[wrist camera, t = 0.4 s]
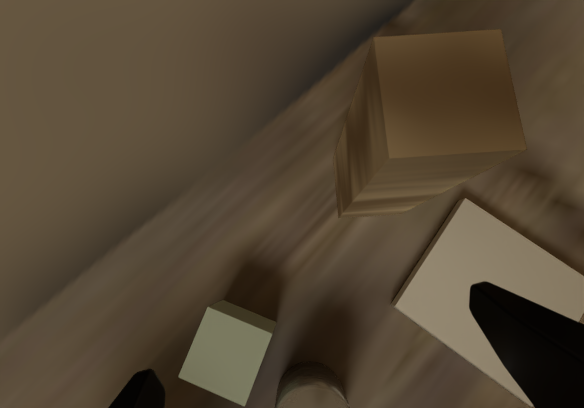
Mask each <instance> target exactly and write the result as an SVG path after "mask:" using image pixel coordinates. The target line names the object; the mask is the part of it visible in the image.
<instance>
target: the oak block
mask: <svg viewBox="0 0 584 408" xmlns="http://www.w3.org/2000/svg"><path fill="white" fill-rule="evenodd" d="M525 150H527V147H526V143H525V138H524V133H523V129H522V124H521V119H520V115H519V110H518V106H517V101H516V96H515V92H514V87H513V83H512V78H511V73H510V69H509V64H508V59H507V55H506V50H505V46H504V41H503V36H502V32H501V29H493V30H478V31H463V32H447V33H432V34H417V35H402V36H387V37H374V38H373V41H372V44H371V47H370V50H369V53H368V56H367V59H366V62H365V65H364V68H363V71H362V74H361V77H360V80H359V83H358V86H357V89H356V92H355V95H354V98H353V101H352V104H351V107H350V110H349V113H348V116H347V119H346V122H345V125H344V128H343V131H342V134H341V137H340V139H339V142H338V145H337V148H336V151H335V154H334V157H333V165H334V175H335V186H336V197H337V208H338V218H349V217H364V216H380V215H395V214H402V213H404V212H406V211H408V210H410V209H412V208H414V207H416V206H418V205H419V204H421V203H423V202H425V201H427V200H429V199H431V198H433V197H435V196H437V195H439V194H441V193H443V192H445V191H447V190H449V189H451V188H453V187H455V186H457V185H459V184H461V183H462V182H464V181H466V180H468V179H470V178H472V177H474V176H476V175H478V174H480V173H482V172H484V171H486V170H488V169H490V168H492V167H494V166H496V165H498V164H500V163H502V162H504V161H506V160H507V159H509V158H511V157H513V156H515V155H517V154H519V153H521V152H523V151H525Z"/></svg>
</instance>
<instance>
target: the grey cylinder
mask: <svg viewBox="0 0 584 408" xmlns="http://www.w3.org/2000/svg"><path fill="white" fill-rule="evenodd" d="M275 408H350V406H349V404H348V401H347V398H346V396H345V393H344V391H343V388H342V385H341V383H340V381H339V379H338V377H337V376H336V375H335V373H334V372H333V371H332V370H331V369H329V368H328V367H327V366H325V365H323V364H320V363H317V362H302V363H299V364H297V365H295V366H293V367H292V368H290V369H289V370H288V371H287V372H286V373H285V374H284V376H283V377H282V379H281V381H280V383H279V386H278V389H277V395H276V402H275Z"/></svg>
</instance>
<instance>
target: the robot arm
mask: <svg viewBox="0 0 584 408" xmlns="http://www.w3.org/2000/svg"><path fill="white" fill-rule="evenodd" d="M469 309H470V312H471V314H472V316H473V317H474V319H475V320H476V322H477V324H478V325H479V327H480V329H481V330H482V332H483V333H484V335H485V337H486V338H487V340H488V341H489V343H490V345H491V346H492V348H493V350H494V351H495V353H496V354H497V356H498V358H499V359H500V361H501V362H502V364H503V365H504V367H505V368H506V369H507V371H508V372H509V374H510V375H511V376H512V378H513V379H514V380H515V382H516V383H517V384H518V386H519V387H520V388H521V389H522V391H523V392H524V393H525V395H526V396H527V397H528V399H529V400H530V401H531V403H532V404H533V405H534V407H535V408H584V324H582V323H580V322H577V321H575V320H573V319H571V318H568V317H566V316H564V315H562V314H559V313H557V312H555V311H553V310H551V309H548V308H546V307H544V306H542V305H539V304H537V303H535V302H533V301H530V300H528V299H526V298H524V297H521V296H519V295H517V294H515V293H512V292H510V291H508V290H506V289H503V288H501V287H499V286H497V285H494V284H492V283H490V282H487V281H483V282H479V283H475V284H472V285H471V287H470V296H469ZM164 407H165V389H164V386H163V384H162V383H161V381H160V380H159V378H158V376H157V375H156V373H155V372H154V370H152V369H147V370H143V371H139V372H137V373H135V374H134V375H133V377H132V378H131V379H130V380H129V382H128V383H127V384H126V386H125V387H124V388H123V389H122V391H121V392H120V393H119V395H118V396H117V397H116V399H115V400H114V401H113V402H112V404H111V405H110V406H109V408H164Z"/></svg>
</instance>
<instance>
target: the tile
mask: <svg viewBox="0 0 584 408" xmlns="http://www.w3.org/2000/svg"><path fill="white" fill-rule="evenodd" d="M483 281H487V282H490V283H492V284H494V285H497V286H499V287H501V288H503V289H506V290H508V291H510V292H512V293H515V294H517V295H519V296H521V297H524V298H526V299H528V300H530V301H533V302H535V303H537V304H539V305H542V306H544V307H546V308H548V309H551V310H553V311H555V312H557V313H559V314H562V315H564V316H566V317H568V318H571V319H573V320H575V321H577V322H579V320H580V319H581V317H582V315H583V313H584V276H583V275H581V274H580V273H578V272H577V271H575V270H574V269H572V268H571V267H569V266H568V265H566V264H565V263H563V262H561V261H560V260H558V259H557V258H555V257H554V256H552V255H551V254H549V253H548V252H546V251H545V250H543V249H542V248H540V247H539V246H537V245H536V244H534V243H533V242H531V241H530V240H528V239H527V238H525V237H524V236H522V235H521V234H519V233H518V232H516V231H515V230H513V229H512V228H510V227H509V226H507V225H506V224H504V223H503V222H501V221H499V220H498V219H496V218H495V217H493V216H492V215H490V214H489V213H487V212H486V211H484V210H483V209H481V208H480V207H478V206H477V205H475V204H474V203H472V202H471V201H469V200H468V199H466V198H464V199H462V200H459V201H458V202H457V204H456V205H455V207H454V208H453V210H452V211H451V213H450V214H449V216H448V217H447V219H446V220H445V222H444V224H443V225H442V227H441V228H440V230H439V231H438V233H437V234H436V236H435V237H434V239H433V240H432V242H431V243H430V245H429V246H428V248H427V250H426V251H425V253H424V254H423V256H422V257H421V259H420V260H419V262H418V263H417V265H416V266H415V268H414V269H413V271H412V272H411V274H410V276H409V277H408V279H407V280H406V282H405V283H404V285H403V286H402V288H401V289H400V291H399V292H398V294H397V295H396V297H395V298H394V300H393V302H392V303H391V306H393V307H394V308H395V309H397V310H398V311H400V312H401V313H402V314H404V315H405V316H406V317H408V318H409V319H410V320H412V321H413V322H415V323H416V324H417V325H419V326H420V327H421V328H423V329H424V330H425V331H427V332H428V333H430V334H431V335H432V336H434V337H435V338H436V339H438V340H439V341H440V342H442V343H443V344H445V345H446V346H447V347H449V348H450V349H451V350H453V351H454V352H455V353H457V354H458V355H460V356H461V357H462V358H464V359H465V360H466V361H468V362H469V363H470V364H472V365H473V366H475V367H476V368H477V369H479V370H480V371H481V372H483V373H484V374H485V375H487V376H488V377H490V378H491V379H492V380H494V381H495V382H496V383H498V384H499V385H500V386H502V387H503V388H505V389H506V390H507V391H509V392H510V393H511V394H513V395H514V396H515V397H517V398H518V399H520V400H521V401H523V402H524V403H526V404H528V405H529V406H531V407H533V404H532V403H531V401H530V400H529V399H528V397H527V396H526V395H525V393H524V392H523V391H522V389H521V388H520V387H519V386H518V384H517V383H516V382H515V380H514V379H513V378H512V376H511V375H510V374H509V372H508V371H507V369H506V368H505V367H504V365H503V364H502V362H501V361H500V359H499V358H498V356H497V354H496V353H495V351H494V350H493V348H492V346H491V345H490V343H489V341H488V340H487V338H486V337H485V335H484V333H483V332H482V330H481V329H480V327H479V325H478V324H477V322H476V320H475V319H474V317H473V316H472V314H471V312H470V309H469V296H470V287H471V285H472V284H475V283H479V282H483Z"/></svg>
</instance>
